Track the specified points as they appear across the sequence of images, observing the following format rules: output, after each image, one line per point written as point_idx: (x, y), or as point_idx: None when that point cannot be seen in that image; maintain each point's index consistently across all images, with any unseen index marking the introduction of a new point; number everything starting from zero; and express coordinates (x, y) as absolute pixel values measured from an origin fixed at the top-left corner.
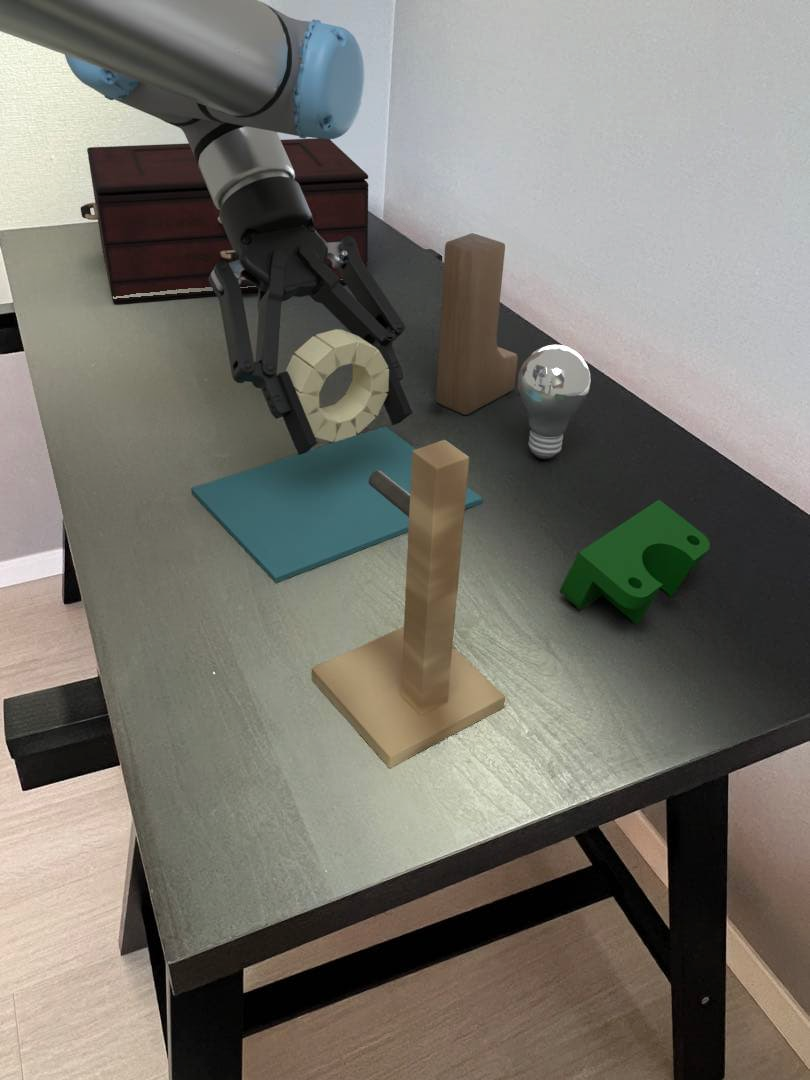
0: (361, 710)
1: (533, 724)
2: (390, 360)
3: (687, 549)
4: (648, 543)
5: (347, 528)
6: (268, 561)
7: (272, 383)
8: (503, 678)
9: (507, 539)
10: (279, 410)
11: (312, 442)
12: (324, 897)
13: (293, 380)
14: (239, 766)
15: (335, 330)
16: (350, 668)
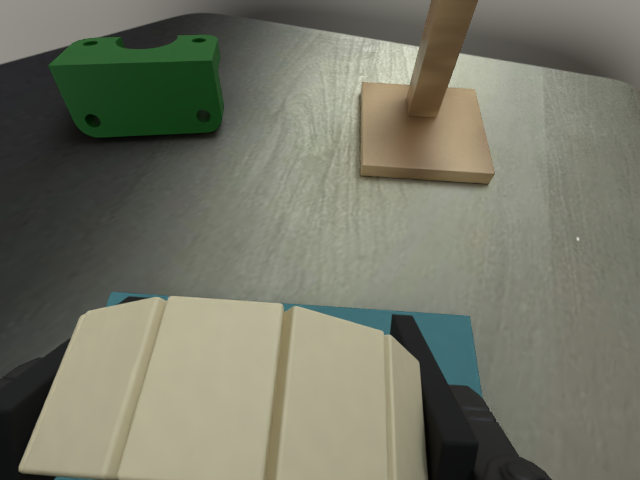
0: (474, 122)
1: (353, 77)
2: (26, 370)
3: (109, 41)
4: (134, 50)
5: None
6: (466, 350)
7: (495, 453)
8: (338, 109)
9: (166, 223)
10: (473, 390)
11: (403, 316)
12: (548, 68)
13: (418, 420)
14: (577, 151)
15: (140, 465)
16: (461, 155)
